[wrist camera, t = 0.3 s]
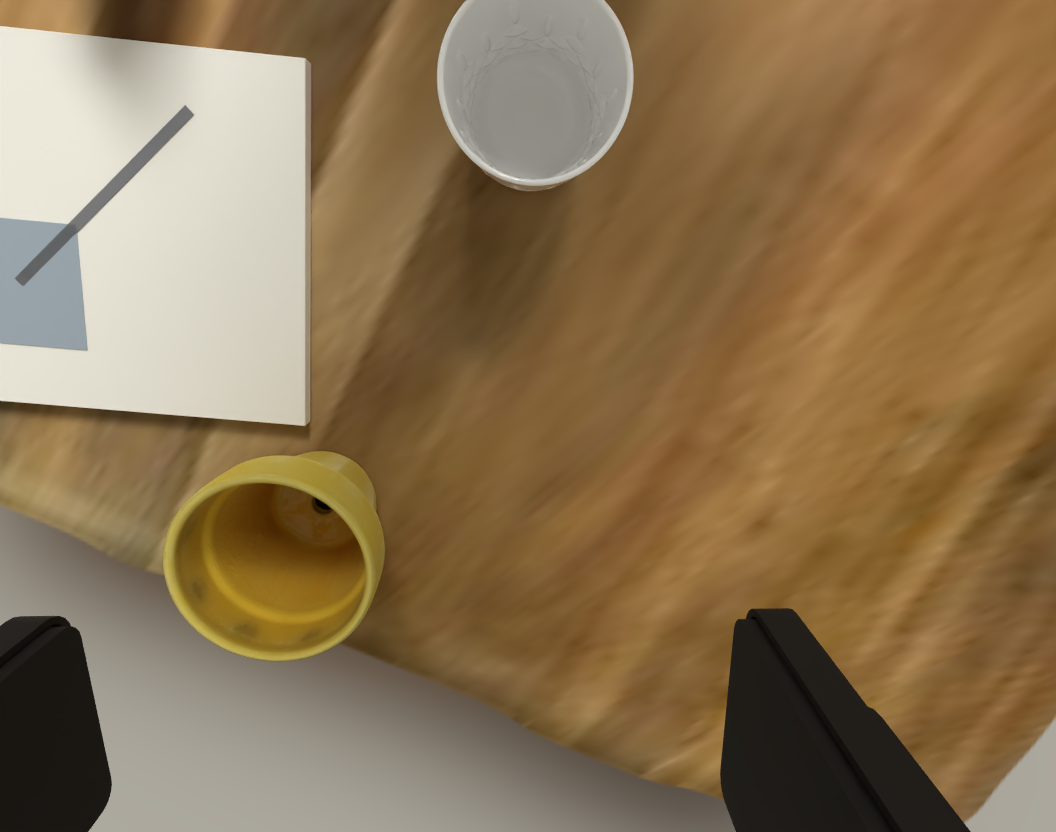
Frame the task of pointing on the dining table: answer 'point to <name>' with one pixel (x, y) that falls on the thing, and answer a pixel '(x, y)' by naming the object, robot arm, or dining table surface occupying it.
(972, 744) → the dining table surface
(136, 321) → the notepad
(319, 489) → the plant pot
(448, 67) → the white cup
